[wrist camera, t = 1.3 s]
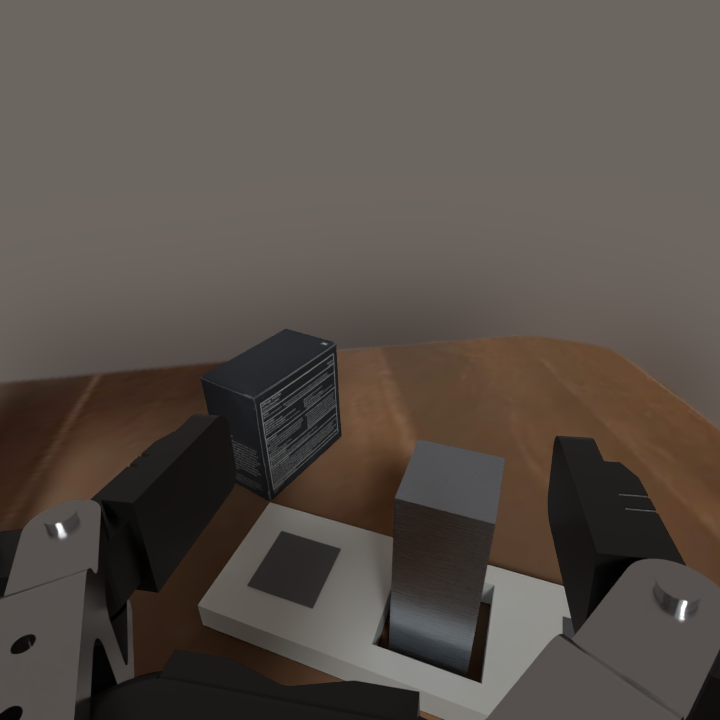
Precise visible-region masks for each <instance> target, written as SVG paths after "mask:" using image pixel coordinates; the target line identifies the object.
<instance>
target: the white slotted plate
mask: <svg viewBox="0 0 720 720" xmlns="http://www.w3.org/2000/svg"><path fill="white" fill-rule="evenodd" d="M392 555H393V537H389V536H386V535H382V534H379V533H375V532H372V531H368V530H365V529H361V528H358V527H354V526H351V525H347V524H344V523H340V522H337V521H333V520H330V519H326V518H323V517H319V516H316V515H312V514H309V513H305V512H302V511H298V510H295V509H291V508H288V507H284V506H281V505H277V504H274V503H269V504H268V506H267V507H266V509H265V510H264V511H263V513H262V514H261V516H260V517H259V519H258V520H257V521H256V523H255V524H254V526H253V527H252V529H251V530H250V531H249V533H248V534H247V536H246V537H245V538H244V540H243V541H242V543H241V544H240V546H239V547H238V548H237V550H236V551H235V553H234V554H233V556H232V557H231V558H230V560H229V561H228V563H227V564H226V566H225V567H224V568H223V570H222V571H221V573H220V574H219V576H218V577H217V578H216V580H215V581H214V583H213V584H212V585H211V587H210V588H209V590H208V591H207V593H206V594H205V595H204V597H203V598H202V600H201V601H200V603H199V604H198V609H199V613H200V616H201V620H202V623H203V625H205V626H207V627H210V628H212V629H215V630H217V631H220V632H223V633H225V634H228V635H230V636H233V637H235V638H238V639H240V640H243V641H246V642H248V643H251V644H253V645H256V646H258V647H261V648H263V649H266V650H268V651H271V652H274V653H276V654H279V655H281V656H284V657H286V658H289V659H291V660H294V661H297V662H299V663H302V664H304V665H307V666H309V667H312V668H314V669H317V670H319V671H322V672H325V673H327V674H330V675H332V676H335V677H337V678H340V679H342V680H345V681H353V680H355V681H361V682H366V683H372V684H378V685H384V686H390V687H395V688H401V689H407V690H413V691H418V692H420V710H421V711H424V712H427V713H429V714H432V715H434V716H437V717H439V718H442V719H444V720H486V718H487V717H488V716H489V715H490V714H491V712H492V711H493V710H494V709H495V707H496V706H497V705H498V704H499V703H500V701H501V700H502V699H503V698H504V696H505V695H506V694H507V693H508V692H509V690H510V689H511V688H512V687H513V686H514V684H515V683H516V682H517V681H518V679H519V678H520V677H521V676H522V675H523V673H524V672H525V671H526V670H527V668H528V667H529V666H530V665H531V664H532V662H533V661H534V660H535V659H536V658H537V656H538V655H539V654H540V653H541V651H542V650H543V649H544V648H545V647H546V645H547V644H548V643H549V642H550V641H551V640H552V639H553V638H554V637H555V636H557V635H558V634H564V635H565V636H567V637H568V638H570V639H572V638H573V637H574V636H575V633H574V629H573V625H572V620H571V616H570V611H569V607H568V602H567V598H566V594H565V589H564V586H561V585H557V584H554V583H550V582H547V581H543V580H540V579H536V578H533V577H529V576H526V575H522V574H519V573H515V572H512V571H508V570H505V569H501V568H498V567H494V566H491V565H488V566H487V571H486V576H485V581H484V587H483V592H482V597H481V602H484V603H487V604H490V605H491V606H490V614H489V621H488V629H487V636H486V644H485V651H484V659H483V666H482V674H481V681H480V683H478V682H475V681H473V680H470V679H467V678H464V677H461V676H459V675H456V674H453V673H450V672H448V671H445V670H442V669H439V668H436V667H434V666H431V665H428V664H425V663H423V662H420V661H417V660H414V659H412V658H409V657H406V656H403V655H400V654H398V653H395V652H392V651H389V650H387V649H384V648H381V647H378V643H379V640H380V637H381V634H382V631H383V628H384V624H385V621H386V618H387V615H388V612H389V609H390V605H391V580H392Z"/></svg>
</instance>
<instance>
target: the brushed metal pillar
mask: <svg viewBox="0 0 720 720" xmlns="http://www.w3.org/2000/svg"><path fill="white" fill-rule="evenodd" d="M504 462H505V458H502V457H497V456H493V455H488V454H483V453H479V452H474V451H470V450H465V449H460V448H456V447H451V446H447V445H442V444H437V443H433V442H428V441H424V440H419V439H418V442H417V444H416V447H415V449H414V452H413V454H412V457H411V459H410V462H409V464H408V466H407V469H406V471H405V474H404V476H403V479H402V481H401V484H400V486H399V489H398V491H397V494H396V496H395V504H394V529H393V555H392V580H391V605H390V630H389V651H392V652H395V653H398V654H400V655H403V656H406V657H409V658H412V659H414V660H417V661H420V662H423V663H425V664H428V665H431V666H434V667H436V668H439V669H442V670H445V671H448V672H450V673H453V674H456V675H459V676H461V677H464V678H466V677H467V672H468V667H469V661H470V656H471V651H472V645H473V640H474V635H475V629H476V624H477V619H478V613H479V608H480V603H481V597H482V592H483V587H484V581H485V576H486V571H487V566H488V560H489V555H490V550H491V544H492V539H493V534H494V528H495V523H496V516H497V509H498V502H499V496H500V489H501V482H502V475H503V468H504Z"/></svg>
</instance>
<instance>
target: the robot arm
mask: <svg viewBox="0 0 720 720" xmlns="http://www.w3.org/2000/svg"><path fill="white" fill-rule="evenodd" d="M235 480H236V463H235V457H234V452H233V446H232V440H231V435H230V429H229V424H228V421H227V419H226V418H225V417H224V416H217V415H200V414H196V415H193V416H192V417H190V418H189V419H188V420H187V421H186V422H185V423H184V424H183V425H182V426H181V427H180V428H179V429H177V430H176V431H175V432H173V433H171V434H169V435H167V436H165V437H163V438H161V439H160V440H158V441H156V442H154V443H153V444H152V445H151V446H150V447H149V448H148V449H147V450H145V451H144V452H143V453H142V455H141V457H140V456H139V457H138V458H136V459H135V460H134V461H133V462H132V463H131V464H130V467H126V468H125V469H124V470H123V471H122V472H121V473H120V474H119V475H117V476H116V477H115V478H114V479H113V480H112V481H111V482H110V483H108V484H107V485H106V486H105V487H104V488H103V489H102V490H101V491H99V492H98V493H97V494H96V495H95V496H94V497H93V498H92V499H90V500H89V499H77V500H71V501H67V502H63V503H60V504H57V505H55V506H53V507H50V508H48V509H46V510H45V511H43V512H41V513H40V514H38V515H37V516H35V517H34V518H33V519H32V520H31V521H29V523H28V524H27V525H26V526H25V527H24V529H18V530H10V531H3V532H0V720H427V719H425V718H423V717H421V716H420V692H418V691H413V690H407V689H401V688H395V687H390V686H384V685H378V684H372V683H366V682H361V681H355V680H353V681H342V682H331V683H320V684H309V685H298V686H284V685H281V684H278V683H276V682H274V681H272V680H270V679H269V678H267V677H265V676H263V675H261V674H259V673H257V672H255V671H253V670H251V669H249V668H247V667H245V666H243V665H241V664H239V663H237V662H236V661H234V660H232V659H228V658H222V657H217V656H211V655H205V654H199V653H194V652H188V651H182V650H176V649H175V651H174V653H173V654H172V656H171V658H170V659H169V661H168V663H167V664H166V666H165V668H164V669H163V671H158V672H154V673H149V674H145V675H141V676H138V677H135V678H134V650H133V618H132V605H131V602H130V599H129V598H130V596H131V595H132V594H133V592H134V591H135V590H136V589H137V590H144V591H151V592H157V593H158V592H159V591H160V590H161V588H162V587H163V585H164V584H165V583H166V581H167V580H168V578H169V577H170V576H171V574H172V573H173V572H174V570H175V569H176V567H177V566H178V565H179V563H180V562H181V560H182V559H183V558H184V556H185V555H186V553H187V552H188V551H189V549H190V548H191V547H192V545H193V544H194V542H195V541H196V540H197V538H198V537H199V535H200V534H201V533H202V531H203V530H204V528H205V527H206V526H207V524H208V523H209V522H210V520H211V519H212V517H213V516H214V515H215V513H216V512H217V510H218V509H219V508H220V506H221V505H222V504H223V502H224V501H225V499H226V498H227V497H228V495H229V494H230V492H231V491H232V489H233V487H234V484H235ZM548 516H549V523H550V527H551V532H552V536H553V541H554V545H555V549H556V554H557V558H558V563H559V567H560V571H561V576H562V580H563V585H564V589H565V594H566V598H567V602H568V607H569V611H570V616H571V620H572V625H573V629H574V633H575V636H574V637H573V638H572V639H570V638H568V637H567V636H565V635H564V634H558V635H557V636H555V637H554V638H553V639H552V640H551V641H550V642H549V643H548V644H547V645H546V647H545V648H544V649H543V650H542V651H541V653H540V654H539V655H538V656H537V658H536V659H535V660H534V661H533V662H532V664H531V665H530V666H529V667H528V668H527V670H526V671H525V672H524V673H523V675H522V676H521V677H520V678H519V679H518V681H517V682H516V683H515V684H514V686H513V687H512V688H511V689H510V690H509V692H508V693H507V694H506V695H505V696H504V698H503V699H502V700H501V701H500V703H499V704H498V705H497V706H496V707H495V709H494V710H493V711H492V712H491V714H490V715H489V716H488V717H487V718H486V720H720V588H719V587H718V586H717V585H716V584H714V583H713V582H712V581H711V580H710V579H708V578H707V577H705V576H704V575H702V574H701V573H699V572H697V571H695V570H693V569H691V568H689V567H687V566H686V564H685V563H684V561H683V559H682V557H681V555H680V553H679V552H678V550H677V548H676V546H675V544H674V542H673V540H672V539H671V537H670V535H669V533H668V531H667V529H666V527H665V526H664V524H663V522H662V520H661V518H660V516H659V515H658V513H656V509H655V507H654V505H653V503H652V502H651V500H650V499H648V494H647V492H646V491H645V489H644V487H643V485H642V483H641V481H640V479H639V478H638V477H637V476H636V475H635V474H633V473H632V472H631V471H630V470H629V469H627V468H626V467H625V466H624V465H622V464H621V463H620V462H606V461H604V460H603V458H602V456H601V454H600V451H599V449H598V447H597V445H596V443H595V441H594V439H593V438H585V437H567V436H556V438H555V441H554V447H553V455H552V464H551V473H550V482H549V491H548Z"/></svg>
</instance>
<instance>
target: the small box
mask: <svg viewBox="0 0 720 720" xmlns="http://www.w3.org/2000/svg"><path fill="white" fill-rule="evenodd" d="M201 381H202V386H203V390H204V394H205V399H206V403H207V408H208V413H209V415H217V416H224V417H225V418H226V419H227V421H228V424H229V429H230V435H231V440H232V446H233V452H234V457H235V463H236V480H235V482H236V483H238V484H239V485H241V486H243V487H245V488H247V489H249V490H250V491H252V492H254V493H256V494H258V495H259V496H261V497H263V498H265V499H267V500H272V499H273V498H274V497H275V496H276V495H278V494H279V493H280V492H281V491H282V490H283V489H284V488H285V487H286V486H287V485H289V484H290V483H291V482H292V481H293V480H294V479H295V478H296V477H297V476H298V475H299V474H301V473H302V472H303V471H304V470H305V469H306V468H307V467H308V466H309V465H310V464H311V463H313V462H314V461H315V460H316V459H317V458H318V457H319V456H320V455H321V454H322V453H323V452H324V451H326V450H327V449H328V448H329V447H330V446H331V445H332V444H333V443H334V442H335V441H336V440H337V439H339V438H340V437H341V436H342V434H341V423H340V411H339V393H338V370H337V353H336V343H335V342H331V341H328V340H324V339H321V338H317V337H313V336H310V335H307V334H303V333H300V332H296V331H293V330H289V329H285V330H283V331H281V332H279V333H277V334H276V335H274V336H272V337H270V338H269V339H267V340H265V341H263V342H261V343H260V344H258V345H256V346H255V347H253V348H251V349H249V350H247V351H246V352H244V353H242V354H240V355H238V356H237V357H235V358H233V359H231V360H229V361H228V362H226V363H224V364H222V365H221V366H219V367H217V368H215V369H213V370H212V371H210V372H208V373H206V374H204V375H203V376H201Z"/></svg>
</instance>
